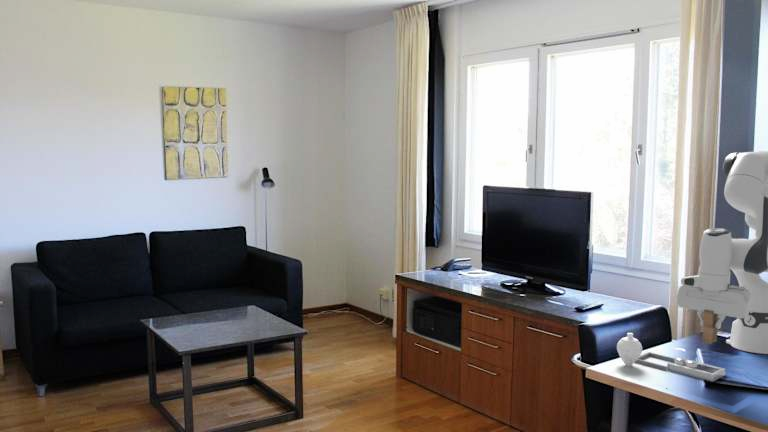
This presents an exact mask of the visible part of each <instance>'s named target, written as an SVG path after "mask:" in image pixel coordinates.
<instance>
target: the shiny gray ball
mask: <svg viewBox="0 0 768 432" xmlns="http://www.w3.org/2000/svg"><path fill="white" fill-rule="evenodd" d="M674 358H675V359H674V362H673V363H674V364H678V365H682V366H685V361H686V359H687V358H684V357H679V356H678V357H674Z"/></svg>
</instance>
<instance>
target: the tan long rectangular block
mask: <svg viewBox="0 0 768 432" xmlns="http://www.w3.org/2000/svg"><path fill="white" fill-rule="evenodd" d="M703 315H704V320H703V326H702V338H701V343H705V344H708V345H711V344H713V343H715V342H717V340H718V339H717V338H718V329H716V328H714V322H718V320H719V318H718V314H714V313H713V311H710V310H704V314H703Z"/></svg>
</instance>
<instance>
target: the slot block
mask: <svg viewBox="0 0 768 432" xmlns="http://www.w3.org/2000/svg"><path fill="white" fill-rule="evenodd" d="M685 359H686V360H688V359H687V358H685ZM696 362H697V369H694V368H690V367H686V366H682V365H678V364H674V362H668V363H667V365H666V366H667V370H666V371H669V372H674V373H677V374H681V375H685V376H690V377H693V378H697V379H701V380H704V381H709V382H712V383H714V382H715V381H717V380H719V379H721V378H723V377H725V375H726V368H723V367H719V366H714V365H711V364H707V363H702V362H698V361H696Z"/></svg>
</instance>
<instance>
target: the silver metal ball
mask: <svg viewBox="0 0 768 432" xmlns="http://www.w3.org/2000/svg"><path fill="white" fill-rule="evenodd" d="M697 362H698V361H696V360H691V359H687V360H686V361H685V366H686V367H690V368H694V369H697Z"/></svg>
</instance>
